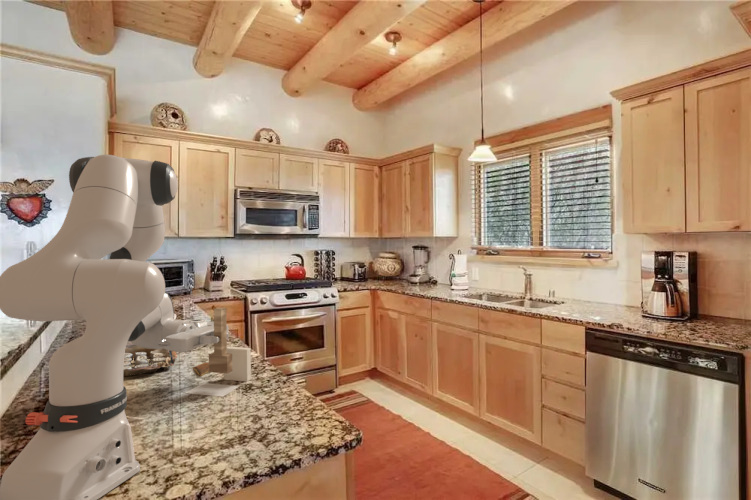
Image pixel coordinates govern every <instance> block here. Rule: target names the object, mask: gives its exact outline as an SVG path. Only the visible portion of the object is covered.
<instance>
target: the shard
mask: <svg viewBox="0 0 751 500" xmlns="http://www.w3.org/2000/svg"><path fill="white" fill-rule="evenodd" d="M192 369H193V370H194V371H195V373H196V374H197V375H198V376H200V377H203V376H205V375H206V374H208V373H210V372H209V362H202V363H201V364H198V365H196V366H193V368H192Z"/></svg>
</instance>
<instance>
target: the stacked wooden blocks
mask: <svg viewBox="0 0 751 500" xmlns="http://www.w3.org/2000/svg"><path fill="white" fill-rule="evenodd" d="M213 322H214V336H220V342H218V343H213V352H211V353H208V363H209V372H208V373H215V374H216V373H218V374H224V373H226V374H228V373H230V372H231V371H233V369H232V353H227V347H228V344H227V343H228V342H227V340H228V339H227V325H228V324H227V307H216V308H213Z"/></svg>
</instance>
